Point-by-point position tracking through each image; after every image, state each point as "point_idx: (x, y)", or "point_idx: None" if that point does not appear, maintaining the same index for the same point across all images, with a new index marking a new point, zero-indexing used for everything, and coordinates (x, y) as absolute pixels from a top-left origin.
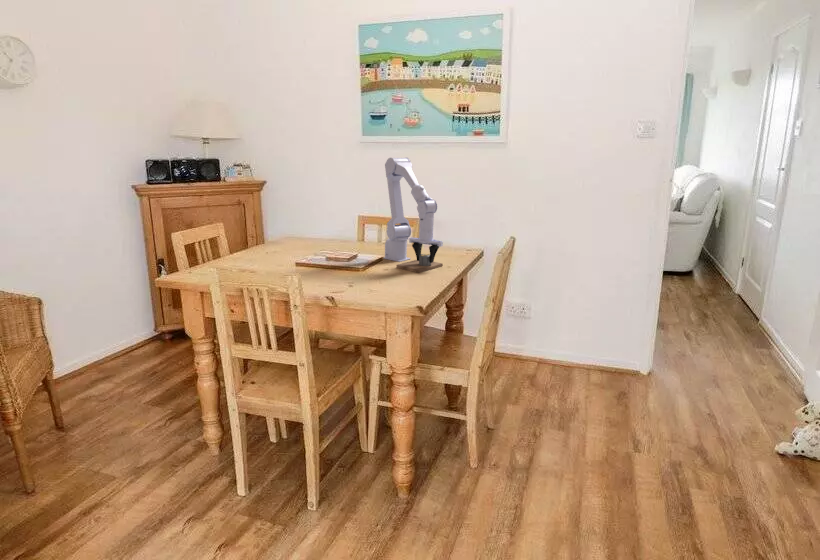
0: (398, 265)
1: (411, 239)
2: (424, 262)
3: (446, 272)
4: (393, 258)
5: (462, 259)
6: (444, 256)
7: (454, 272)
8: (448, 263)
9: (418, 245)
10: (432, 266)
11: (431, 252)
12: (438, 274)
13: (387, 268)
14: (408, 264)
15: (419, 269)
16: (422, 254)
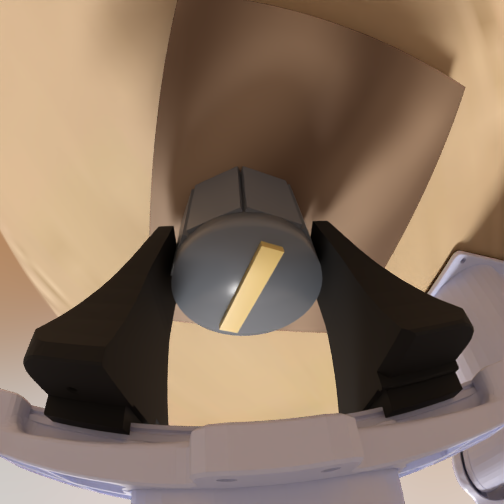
0: (448, 76)
1: (502, 407)
2: (219, 191)
3: (34, 189)
4: (487, 267)
5: (179, 413)
6: (266, 414)
7: (10, 223)
8: (180, 362)
9: (376, 370)
10: (150, 208)
11: (109, 296)
12: (33, 94)
13: (490, 54)
14: (385, 147)
15: (187, 10)
16: (295, 302)
